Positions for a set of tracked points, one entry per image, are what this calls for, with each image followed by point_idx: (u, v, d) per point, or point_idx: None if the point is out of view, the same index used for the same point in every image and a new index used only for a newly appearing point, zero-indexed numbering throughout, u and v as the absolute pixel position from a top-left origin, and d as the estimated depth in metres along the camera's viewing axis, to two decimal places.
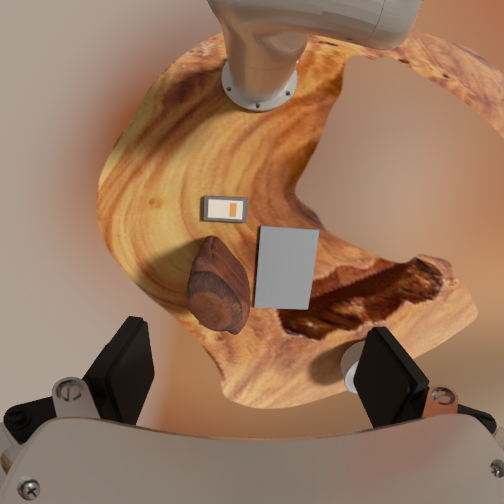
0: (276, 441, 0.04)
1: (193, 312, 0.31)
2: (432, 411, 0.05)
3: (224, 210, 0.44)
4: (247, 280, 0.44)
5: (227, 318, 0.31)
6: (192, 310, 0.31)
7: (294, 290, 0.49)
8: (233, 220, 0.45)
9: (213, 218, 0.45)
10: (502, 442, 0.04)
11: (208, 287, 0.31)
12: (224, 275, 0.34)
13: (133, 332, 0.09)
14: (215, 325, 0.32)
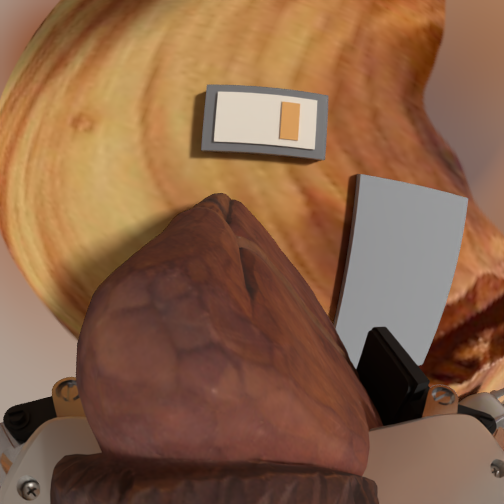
0: None
1: None
2: (432, 411, 0.05)
3: (264, 120, 0.14)
4: None
5: None
6: None
7: (410, 332, 0.19)
8: (289, 151, 0.15)
9: (230, 144, 0.14)
10: (502, 442, 0.04)
11: None
12: (348, 420, 0.03)
13: None
14: None
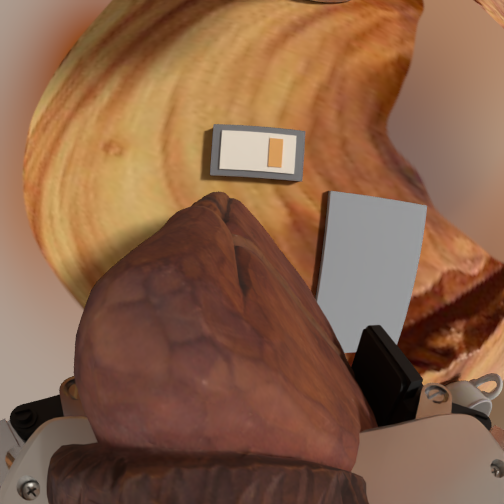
0: None
1: None
2: (426, 410, 0.06)
3: (256, 152, 0.20)
4: None
5: None
6: None
7: (381, 318, 0.24)
8: (275, 175, 0.20)
9: (231, 170, 0.20)
10: (498, 440, 0.04)
11: None
12: (338, 416, 0.04)
13: None
14: None
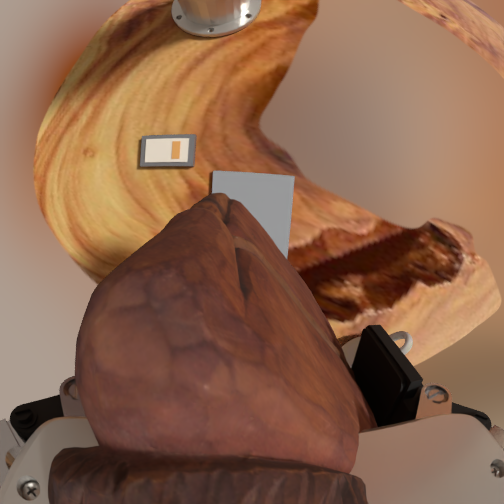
0: None
1: None
2: (426, 410, 0.06)
3: (165, 151, 0.31)
4: None
5: None
6: None
7: None
8: (176, 164, 0.32)
9: (151, 163, 0.31)
10: (497, 440, 0.04)
11: None
12: (339, 419, 0.04)
13: None
14: None
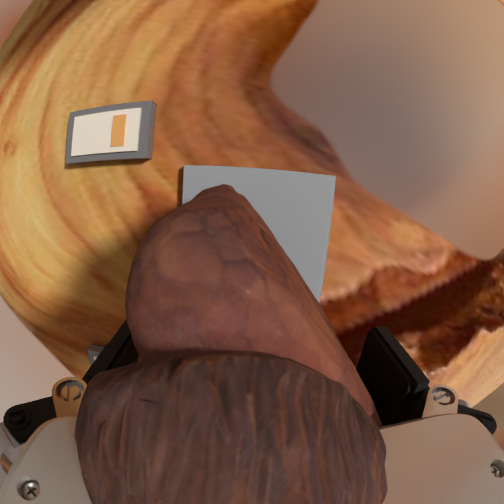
0: None
1: None
2: (432, 411, 0.05)
3: (101, 134, 0.15)
4: None
5: None
6: None
7: None
8: (119, 155, 0.16)
9: (81, 156, 0.16)
10: (502, 442, 0.04)
11: None
12: (342, 355, 0.05)
13: None
14: None
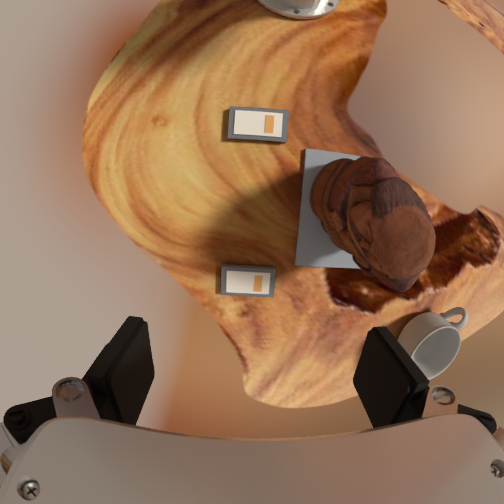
0: (276, 441, 0.04)
1: (386, 242, 0.17)
2: (432, 411, 0.05)
3: (257, 124, 0.30)
4: None
5: (429, 255, 0.17)
6: (386, 238, 0.17)
7: None
8: (269, 138, 0.30)
9: (241, 135, 0.30)
10: (502, 442, 0.04)
11: (414, 199, 0.16)
12: None
13: (133, 332, 0.09)
14: (413, 267, 0.17)
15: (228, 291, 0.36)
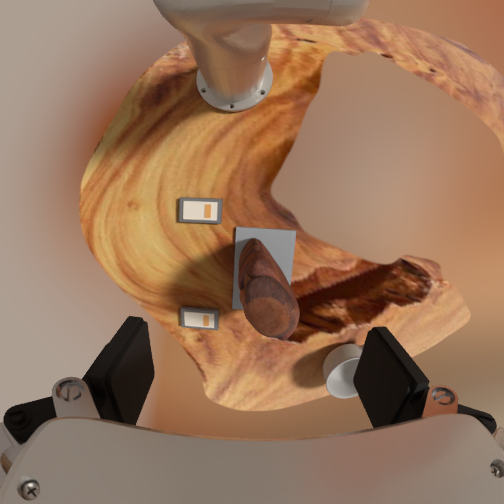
0: (276, 441, 0.04)
1: (250, 317, 0.30)
2: (432, 411, 0.05)
3: (199, 211, 0.44)
4: (289, 285, 0.43)
5: (285, 324, 0.31)
6: (250, 315, 0.30)
7: None
8: (208, 221, 0.44)
9: (188, 219, 0.44)
10: (502, 442, 0.04)
11: (270, 292, 0.30)
12: (281, 280, 0.33)
13: (133, 332, 0.09)
14: (272, 331, 0.31)
15: (186, 325, 0.50)
